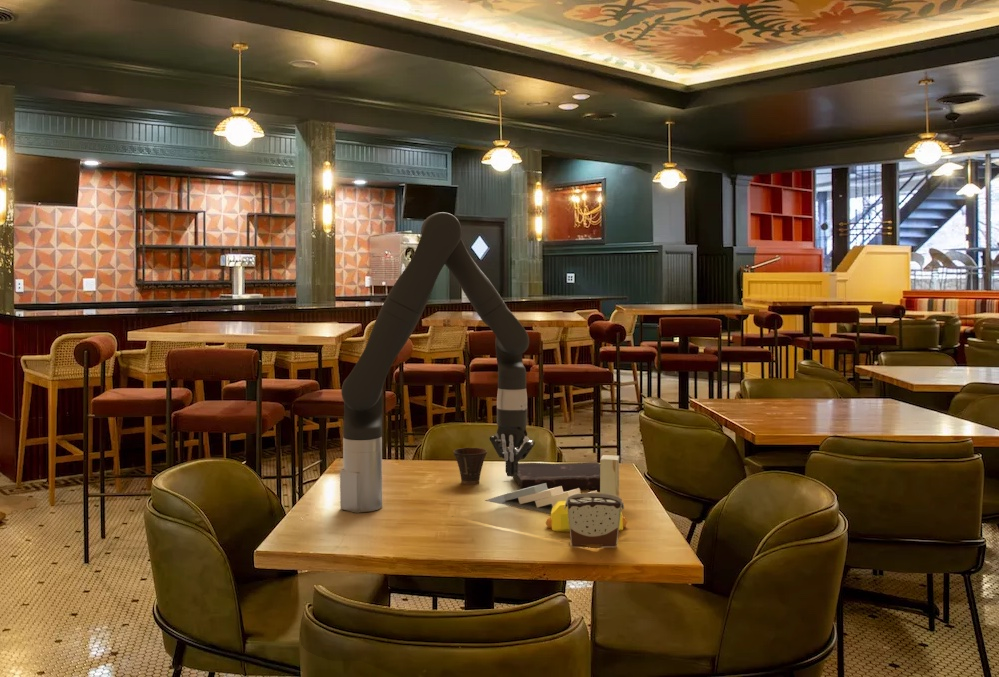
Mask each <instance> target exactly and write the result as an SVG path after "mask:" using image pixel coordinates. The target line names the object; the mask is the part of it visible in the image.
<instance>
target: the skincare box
mask: <svg viewBox="0 0 999 677" xmlns="http://www.w3.org/2000/svg"><path fill="white" fill-rule="evenodd" d="M599 462H600V463H599V464H600V492H599V493H603V494H610V495H614V496H617V497H619V498H620V455H615V454H614V455H611V454H610V455H609V454H602V455H601V457H600V460H599Z"/></svg>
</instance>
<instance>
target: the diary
mask: <svg viewBox="0 0 999 677" xmlns="http://www.w3.org/2000/svg"><path fill="white" fill-rule="evenodd" d="M512 479H513V480H514V481H515V483H516V484H517V485H518V486H519V487H520V488H521V489H524V488H528V487H532V486H536V485H540V484H544V483H546V484H547V488H548V489H551V488H555V487H559V486H562V488H563V492H567V491H570V490H574V489H577V488H579V489H580V491H589V492H592V491H595V490H597V493H600V463H599V462H598V461H592V462H588V461H587V462H567V463H551V462H549V463H548V462H546V463H545V462H521V463H519V462H518V473H517V475H516V476H513V477H512Z"/></svg>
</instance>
